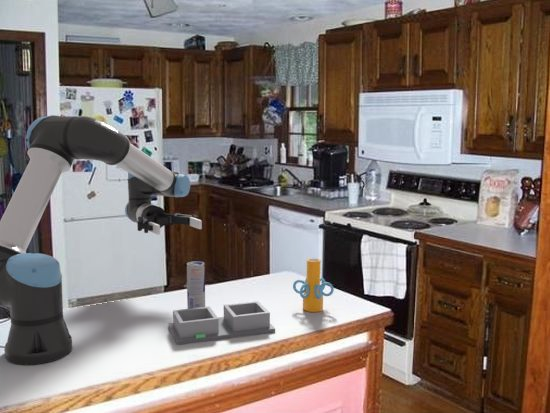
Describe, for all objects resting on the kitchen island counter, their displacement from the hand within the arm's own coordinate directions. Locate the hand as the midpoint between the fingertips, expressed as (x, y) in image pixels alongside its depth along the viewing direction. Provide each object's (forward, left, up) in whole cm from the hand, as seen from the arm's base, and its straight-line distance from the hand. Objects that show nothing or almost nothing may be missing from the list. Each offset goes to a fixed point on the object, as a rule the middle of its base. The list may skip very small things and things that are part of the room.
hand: (180, 227), depth 172 cm
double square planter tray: (+21, -13, -24) cm, 34 cm away
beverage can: (+8, -5, -24) cm, 26 cm away
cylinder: (+37, +13, -24) cm, 46 cm away
